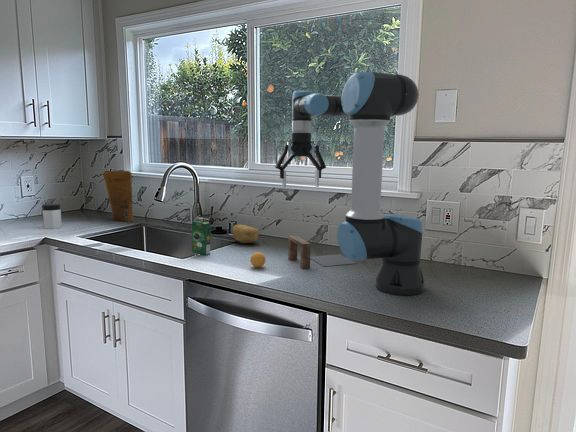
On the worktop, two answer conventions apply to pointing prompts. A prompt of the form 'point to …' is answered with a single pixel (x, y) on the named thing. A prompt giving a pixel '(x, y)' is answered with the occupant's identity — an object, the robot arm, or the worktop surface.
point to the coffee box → (201, 237)
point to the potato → (245, 233)
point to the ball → (257, 259)
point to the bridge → (305, 251)
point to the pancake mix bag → (119, 194)
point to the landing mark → (332, 260)
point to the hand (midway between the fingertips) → (300, 186)
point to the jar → (51, 216)
